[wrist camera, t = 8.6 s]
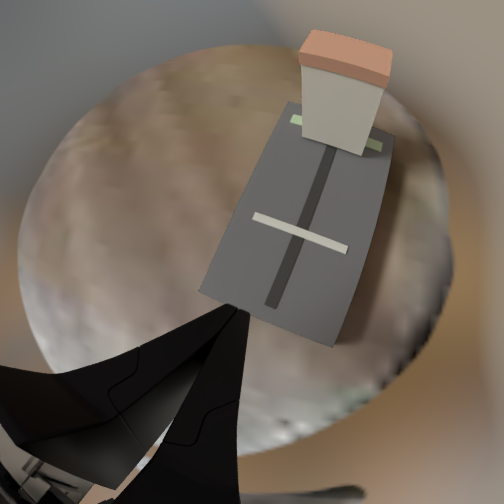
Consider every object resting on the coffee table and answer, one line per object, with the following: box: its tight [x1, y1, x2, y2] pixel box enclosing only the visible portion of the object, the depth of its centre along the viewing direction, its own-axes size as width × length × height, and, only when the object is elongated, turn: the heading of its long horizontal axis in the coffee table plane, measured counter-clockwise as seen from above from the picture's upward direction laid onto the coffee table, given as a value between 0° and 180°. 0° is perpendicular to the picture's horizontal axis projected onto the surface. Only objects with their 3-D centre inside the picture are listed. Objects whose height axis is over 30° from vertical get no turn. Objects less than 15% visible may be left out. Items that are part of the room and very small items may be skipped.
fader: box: [299, 29, 393, 156], centre depth 16 cm, size 3×5×9 cm, turn 67°
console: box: [199, 102, 395, 348], centre depth 20 cm, size 18×10×2 cm, turn 157°
